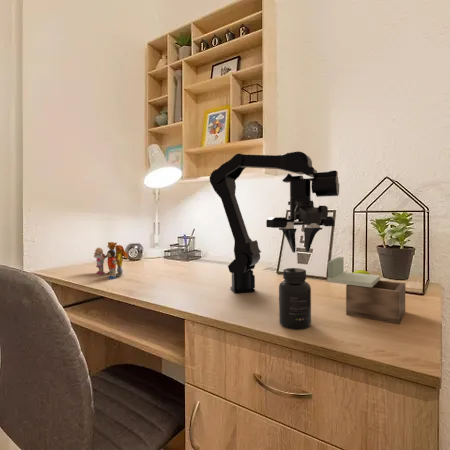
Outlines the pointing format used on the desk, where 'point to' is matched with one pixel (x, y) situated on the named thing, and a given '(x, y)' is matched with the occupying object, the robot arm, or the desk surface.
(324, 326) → the desk surface
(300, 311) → the supplement bottle
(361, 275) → the lid
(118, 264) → the doll family
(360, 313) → the pencil box
